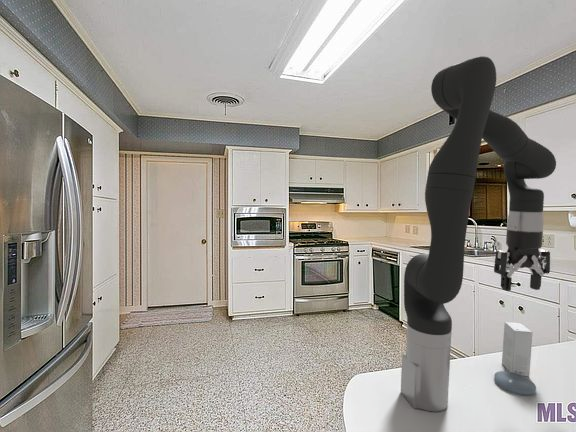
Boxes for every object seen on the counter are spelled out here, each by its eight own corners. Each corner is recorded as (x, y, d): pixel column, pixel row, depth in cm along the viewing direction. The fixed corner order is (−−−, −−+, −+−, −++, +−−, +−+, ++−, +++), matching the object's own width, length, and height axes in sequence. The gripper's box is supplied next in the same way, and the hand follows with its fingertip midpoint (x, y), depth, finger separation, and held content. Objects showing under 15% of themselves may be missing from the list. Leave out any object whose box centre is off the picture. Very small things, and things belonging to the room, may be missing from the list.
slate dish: (513, 397, 73) (513, 393, 73) (486, 376, 81) (486, 372, 81) (545, 394, 74) (545, 390, 74) (514, 373, 82) (515, 370, 82)
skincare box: (530, 377, 81) (533, 332, 80) (511, 375, 82) (514, 330, 81) (518, 364, 87) (520, 322, 86) (501, 362, 88) (503, 321, 87)
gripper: (512, 230, 77) (508, 295, 78) (562, 230, 79) (558, 293, 80) (488, 227, 84) (485, 286, 85) (535, 226, 86) (531, 284, 87)
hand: (520, 289), depth 83 cm, fingers open, 8 cm apart
